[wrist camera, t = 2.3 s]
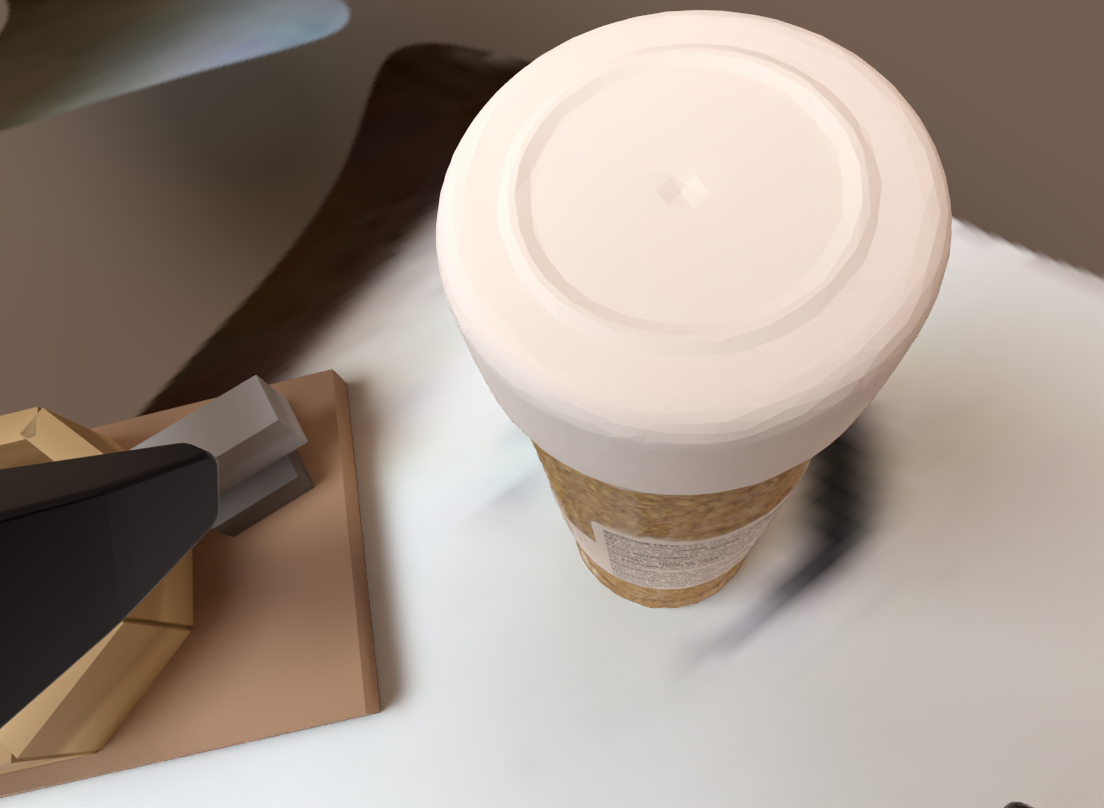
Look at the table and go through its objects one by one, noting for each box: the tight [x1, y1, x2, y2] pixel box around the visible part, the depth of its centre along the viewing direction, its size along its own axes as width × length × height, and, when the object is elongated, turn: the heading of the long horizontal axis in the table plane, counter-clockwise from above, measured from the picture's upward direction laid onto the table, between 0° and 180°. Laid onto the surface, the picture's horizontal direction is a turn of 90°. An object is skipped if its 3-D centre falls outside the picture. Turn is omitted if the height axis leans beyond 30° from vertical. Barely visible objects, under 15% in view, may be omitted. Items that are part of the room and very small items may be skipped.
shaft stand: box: [0, 369, 381, 798], centre depth 18 cm, size 9×16×4 cm, turn 102°
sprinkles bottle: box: [436, 10, 952, 608], centre depth 12 cm, size 5×4×14 cm
